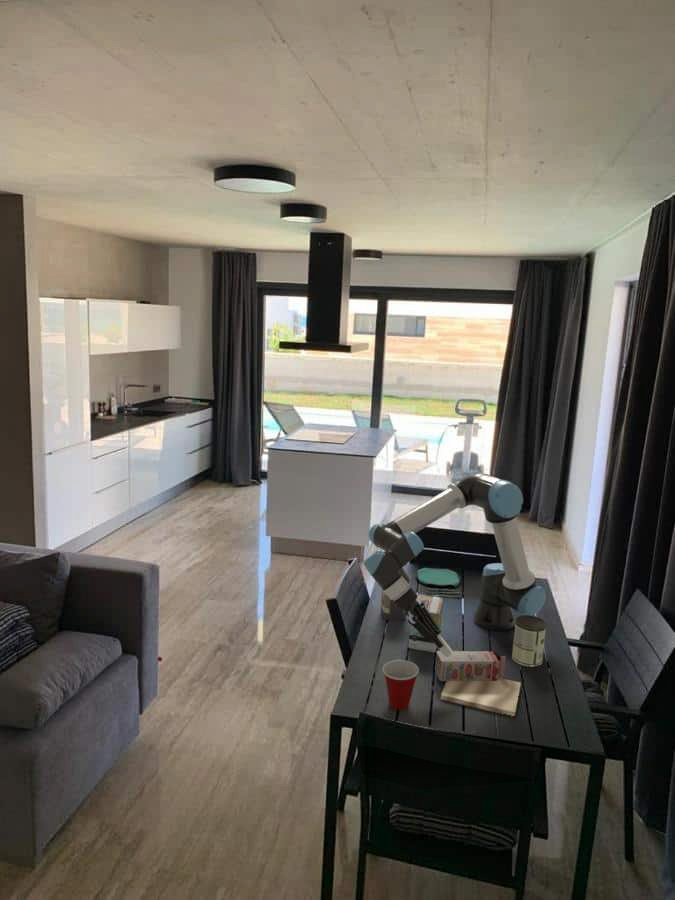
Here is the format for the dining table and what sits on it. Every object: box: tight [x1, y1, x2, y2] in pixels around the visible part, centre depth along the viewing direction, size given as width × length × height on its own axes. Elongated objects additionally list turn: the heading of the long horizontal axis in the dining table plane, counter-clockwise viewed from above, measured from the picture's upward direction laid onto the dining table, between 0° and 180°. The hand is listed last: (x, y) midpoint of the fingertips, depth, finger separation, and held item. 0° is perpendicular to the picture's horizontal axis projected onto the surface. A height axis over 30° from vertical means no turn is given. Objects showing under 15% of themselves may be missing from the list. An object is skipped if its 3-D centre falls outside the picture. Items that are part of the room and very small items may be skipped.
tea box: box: [408, 593, 444, 653], centre depth 239 cm, size 15×10×15 cm, turn 166°
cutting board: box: [440, 677, 522, 717], centre depth 208 cm, size 22×18×2 cm
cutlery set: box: [415, 567, 462, 599], centre depth 294 cm, size 20×30×2 cm, turn 177°
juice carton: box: [434, 650, 507, 682], centre depth 215 cm, size 7×7×22 cm
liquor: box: [380, 567, 410, 621], centre depth 257 cm, size 9×9×30 cm
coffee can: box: [511, 614, 548, 668], centre depth 230 cm, size 10×10×14 cm
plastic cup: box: [382, 659, 420, 711], centre depth 199 cm, size 11×11×12 cm
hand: (448, 653), depth 210 cm, fingers closed
